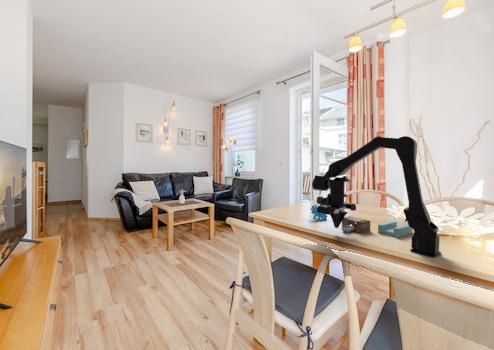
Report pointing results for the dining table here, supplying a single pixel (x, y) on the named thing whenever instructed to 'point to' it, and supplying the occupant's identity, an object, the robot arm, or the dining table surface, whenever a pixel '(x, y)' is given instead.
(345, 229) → the axle
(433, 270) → the dining table surface
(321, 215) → the gear
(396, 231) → the cradle
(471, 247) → the dining table surface
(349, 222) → the bearing block
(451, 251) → the dining table surface
